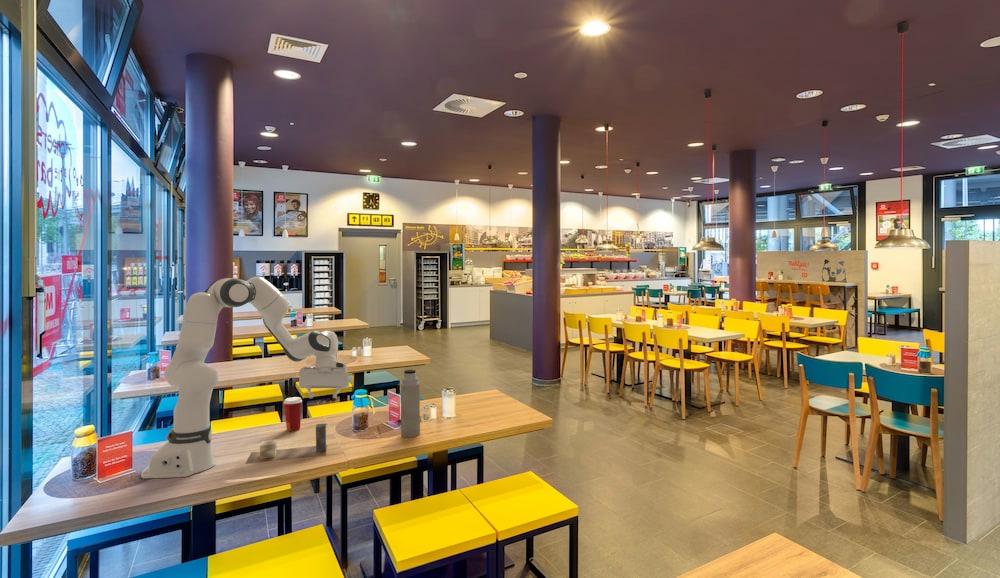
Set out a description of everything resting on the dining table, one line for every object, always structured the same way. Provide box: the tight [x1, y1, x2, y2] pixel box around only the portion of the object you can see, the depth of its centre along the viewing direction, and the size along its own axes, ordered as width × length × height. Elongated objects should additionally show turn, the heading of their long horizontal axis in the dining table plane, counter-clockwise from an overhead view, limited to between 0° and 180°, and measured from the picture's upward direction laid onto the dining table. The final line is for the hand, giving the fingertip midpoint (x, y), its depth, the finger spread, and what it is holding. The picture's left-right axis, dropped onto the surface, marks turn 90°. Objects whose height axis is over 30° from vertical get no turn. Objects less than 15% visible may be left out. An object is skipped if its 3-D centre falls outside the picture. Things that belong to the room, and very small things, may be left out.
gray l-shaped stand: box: [244, 423, 328, 464], centre depth 192 cm, size 28×12×11 cm, turn 106°
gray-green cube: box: [259, 439, 278, 459], centre depth 191 cm, size 5×5×5 cm
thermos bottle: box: [400, 369, 421, 438], centre depth 217 cm, size 8×8×28 cm
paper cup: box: [283, 396, 303, 432], centre depth 224 cm, size 8×8×14 cm
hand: (322, 397), depth 209 cm, fingers open, 8 cm apart
